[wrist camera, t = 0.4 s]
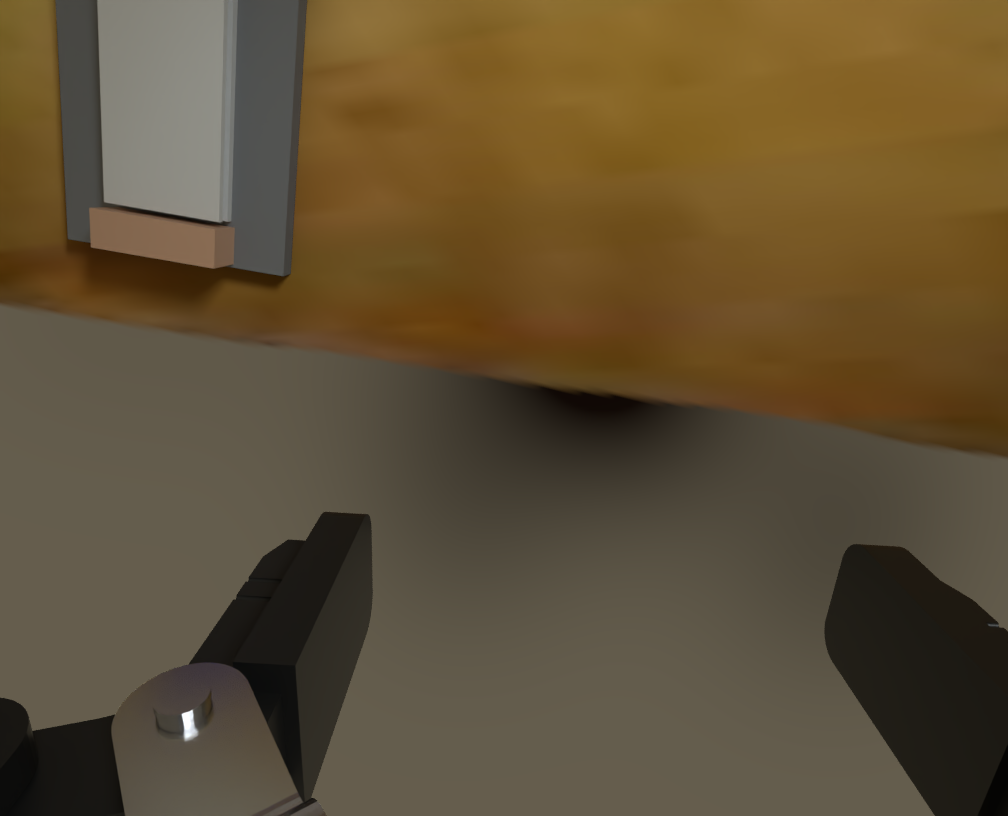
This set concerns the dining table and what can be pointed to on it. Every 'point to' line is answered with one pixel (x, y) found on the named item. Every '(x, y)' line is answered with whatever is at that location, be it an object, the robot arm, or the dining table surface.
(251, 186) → the rail board
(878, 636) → the robot arm
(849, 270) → the dining table surface
